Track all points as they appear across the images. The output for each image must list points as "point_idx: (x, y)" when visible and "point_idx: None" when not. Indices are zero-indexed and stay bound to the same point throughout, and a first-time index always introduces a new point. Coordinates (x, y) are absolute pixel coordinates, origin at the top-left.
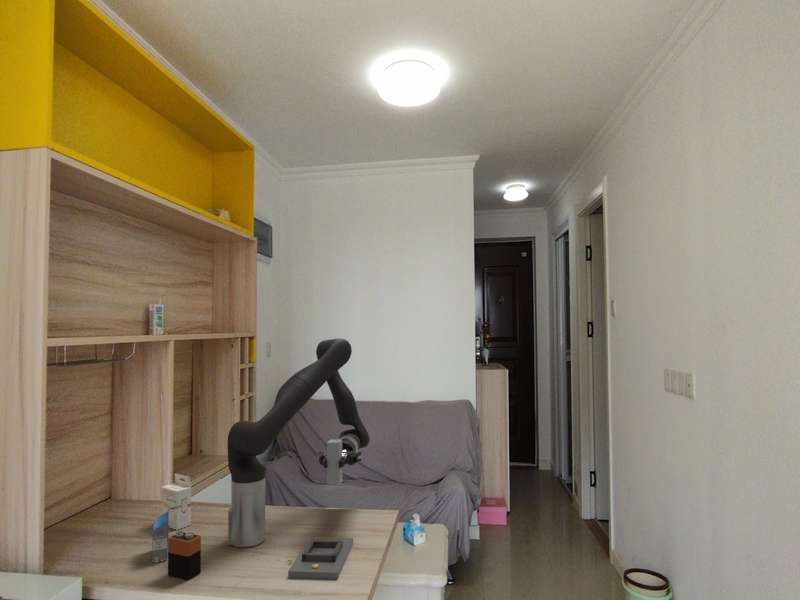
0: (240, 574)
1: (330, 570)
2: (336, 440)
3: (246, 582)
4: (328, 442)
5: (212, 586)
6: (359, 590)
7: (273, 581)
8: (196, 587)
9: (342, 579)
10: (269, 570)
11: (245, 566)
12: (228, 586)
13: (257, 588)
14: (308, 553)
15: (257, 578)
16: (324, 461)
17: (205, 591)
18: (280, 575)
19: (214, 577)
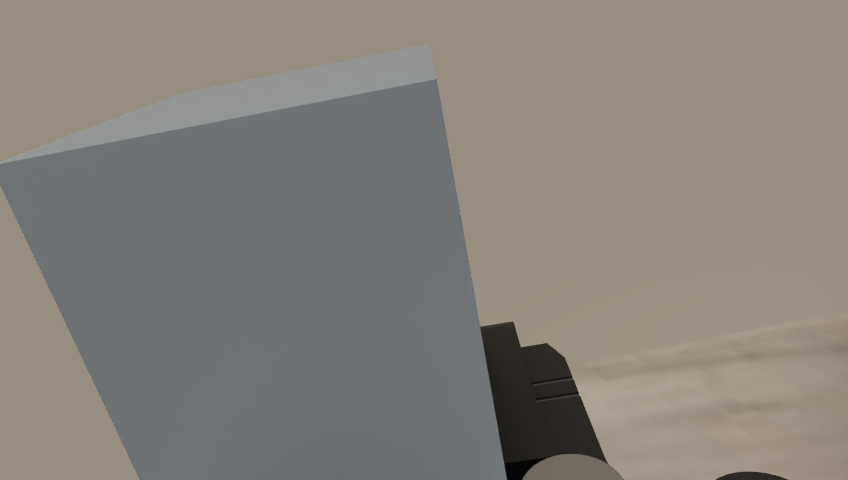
0: (761, 415)
1: None
2: (213, 105)
3: (687, 387)
4: (399, 51)
5: (776, 352)
6: None
7: (600, 409)
8: (821, 339)
9: None
10: (673, 458)
11: (808, 462)
12: (725, 362)
13: (622, 374)
14: None
15: (671, 410)
16: (509, 326)
17: (767, 334)
18: (602, 440)
19: (836, 383)
